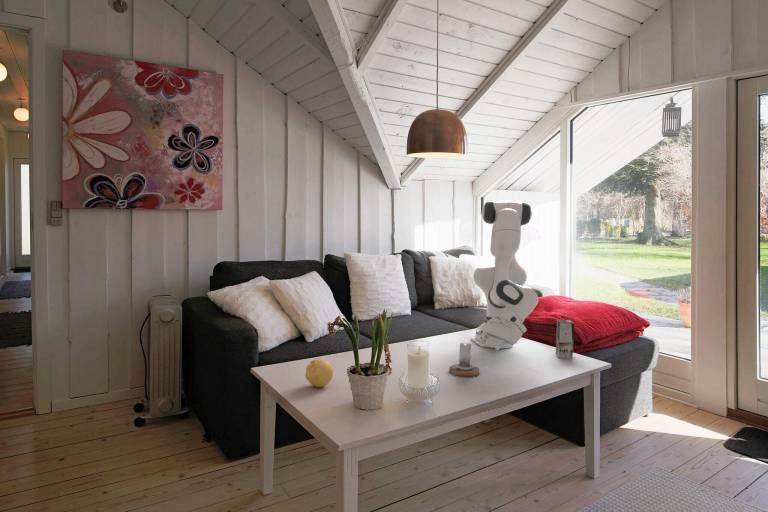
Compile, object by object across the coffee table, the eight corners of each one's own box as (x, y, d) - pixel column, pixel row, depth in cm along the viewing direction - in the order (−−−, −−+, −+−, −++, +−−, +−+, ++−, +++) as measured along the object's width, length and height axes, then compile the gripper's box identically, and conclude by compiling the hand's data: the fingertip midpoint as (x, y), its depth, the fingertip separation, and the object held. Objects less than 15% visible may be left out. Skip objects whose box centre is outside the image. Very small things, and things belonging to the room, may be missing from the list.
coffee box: (573, 359, 226) (575, 323, 224) (557, 358, 227) (559, 322, 225) (569, 353, 234) (571, 319, 233) (555, 352, 236) (556, 318, 234)
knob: (453, 367, 205) (454, 342, 205) (467, 365, 208) (467, 341, 207) (461, 371, 200) (462, 346, 199) (475, 370, 202) (476, 345, 201)
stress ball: (334, 386, 187) (321, 364, 192) (341, 371, 181) (327, 349, 186) (310, 395, 182) (298, 373, 186) (317, 381, 175) (303, 358, 180)
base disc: (443, 369, 207) (443, 365, 207) (469, 366, 212) (469, 363, 212) (459, 378, 196) (459, 374, 196) (485, 375, 201) (485, 371, 200)
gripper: (491, 310, 219) (470, 334, 216) (520, 320, 200) (499, 347, 197) (499, 320, 221) (479, 344, 218) (529, 331, 202) (508, 357, 199)
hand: (488, 345), depth 207 cm, fingers open, 8 cm apart
